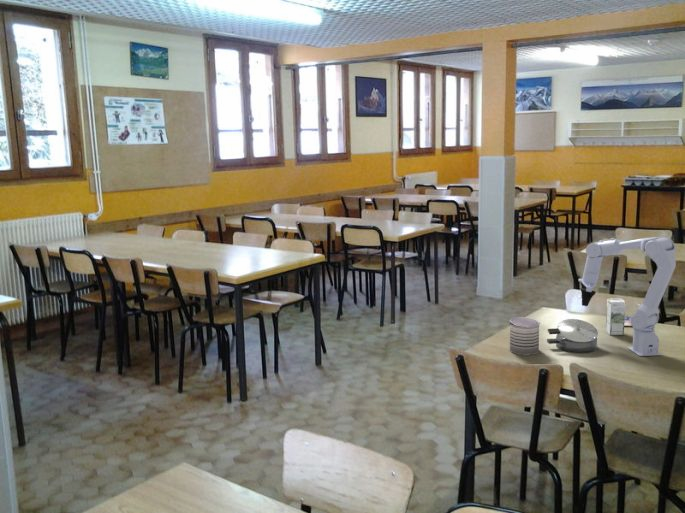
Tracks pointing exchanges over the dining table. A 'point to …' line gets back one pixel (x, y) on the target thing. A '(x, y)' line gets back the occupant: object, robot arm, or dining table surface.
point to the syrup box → (615, 316)
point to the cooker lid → (576, 330)
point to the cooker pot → (573, 345)
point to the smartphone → (627, 322)
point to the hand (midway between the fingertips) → (584, 302)
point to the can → (524, 335)
